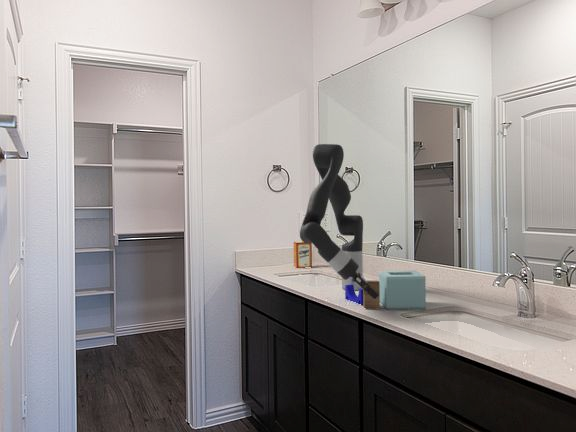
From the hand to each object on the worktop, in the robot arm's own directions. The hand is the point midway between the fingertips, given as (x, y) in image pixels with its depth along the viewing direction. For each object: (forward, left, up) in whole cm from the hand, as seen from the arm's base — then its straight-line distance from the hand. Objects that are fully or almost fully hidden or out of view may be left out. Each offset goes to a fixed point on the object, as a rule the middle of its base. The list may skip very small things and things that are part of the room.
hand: (374, 294), depth 165 cm
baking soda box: (-108, -24, -5) cm, 111 cm away
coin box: (-4, +11, -5) cm, 13 cm away
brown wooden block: (0, -1, -5) cm, 5 cm away
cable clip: (-11, -4, -5) cm, 13 cm away
